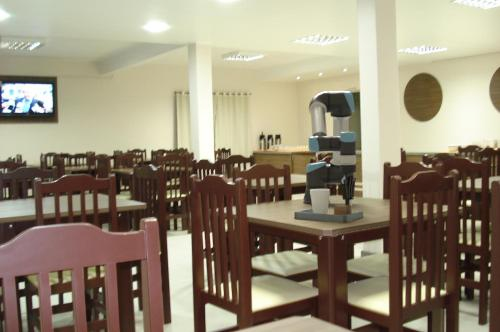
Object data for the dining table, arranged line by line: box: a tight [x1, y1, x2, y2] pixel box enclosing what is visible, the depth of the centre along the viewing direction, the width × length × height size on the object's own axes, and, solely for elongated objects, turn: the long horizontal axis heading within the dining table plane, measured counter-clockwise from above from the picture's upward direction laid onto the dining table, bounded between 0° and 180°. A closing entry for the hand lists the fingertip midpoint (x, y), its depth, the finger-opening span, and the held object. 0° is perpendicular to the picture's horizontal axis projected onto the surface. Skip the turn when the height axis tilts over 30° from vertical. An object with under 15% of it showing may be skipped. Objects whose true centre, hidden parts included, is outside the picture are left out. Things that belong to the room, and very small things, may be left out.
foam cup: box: [310, 188, 331, 214], centre depth 258 cm, size 10×9×13 cm
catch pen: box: [293, 207, 364, 224], centre depth 255 cm, size 19×26×3 cm
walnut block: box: [333, 204, 351, 215], centre depth 253 cm, size 6×6×6 cm
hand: (348, 213), depth 258 cm, fingers closed
